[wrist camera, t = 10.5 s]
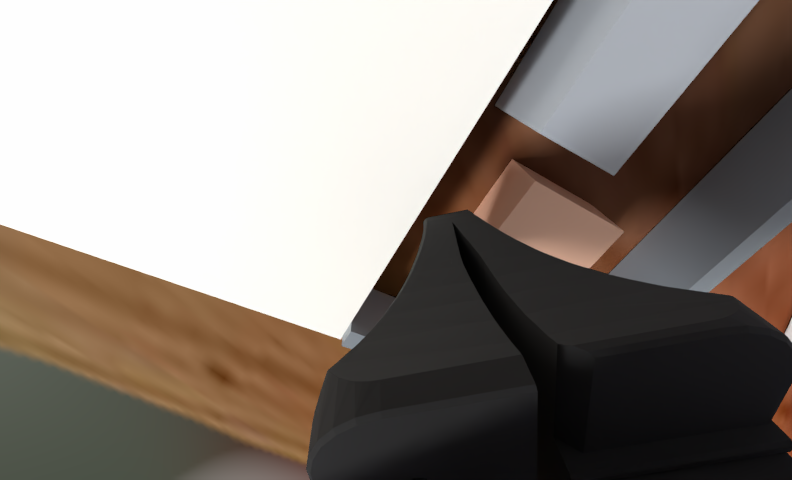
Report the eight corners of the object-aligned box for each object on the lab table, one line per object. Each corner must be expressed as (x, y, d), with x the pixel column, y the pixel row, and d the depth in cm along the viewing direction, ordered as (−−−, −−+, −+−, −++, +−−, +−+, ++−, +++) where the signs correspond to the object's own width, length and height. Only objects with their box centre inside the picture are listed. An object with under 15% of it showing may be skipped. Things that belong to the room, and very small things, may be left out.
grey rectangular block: (593, -61, 10) (655, -13, 11) (493, 105, 12) (550, 137, 13) (706, -110, 7) (786, -33, 7) (540, 133, 9) (613, 175, 10)
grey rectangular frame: (881, 24, 12) (1027, 22, 9) (534, 365, 19) (559, 418, 16) (655, -229, 9) (778, -341, 6) (346, 294, 16) (341, 345, 13)
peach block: (535, 180, 11) (510, 156, 13) (449, 293, 13) (439, 256, 16) (624, 231, 12) (587, 201, 15) (532, 328, 15) (512, 289, 17)
